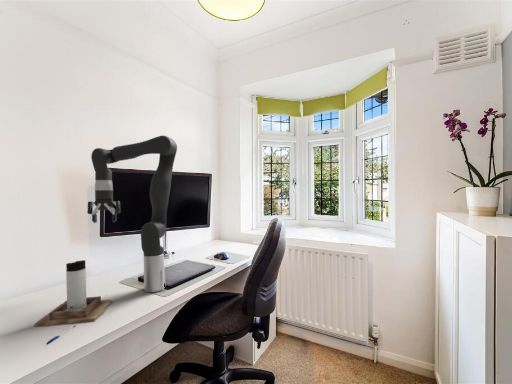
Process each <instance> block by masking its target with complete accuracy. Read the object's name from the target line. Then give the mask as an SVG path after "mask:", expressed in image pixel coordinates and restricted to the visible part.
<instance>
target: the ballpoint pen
mask: <svg viewBox="0 0 512 384" xmlns="http://www.w3.org/2000/svg"><path fill="white" fill-rule="evenodd" d="M75 327H76V325H72V326H71V327H70V328H68V329H67V330H65V331H63V332H62V333H60V334H58V335H57V336H54V337H53V338H51V339H49V340H48V341H47V342H46V345H49V344H51V343H53V342H54V341H56V340H57V339H59V338H60V337H61V336H63V335H65V334H66V333H68V332H69V331H71V330H73V329H74V328H75Z"/></svg>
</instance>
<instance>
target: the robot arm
mask: <svg viewBox="0 0 512 384" xmlns="http://www.w3.org/2000/svg"><path fill="white" fill-rule="evenodd" d="M177 151H178V145H177V143H176V141H175V140H174V139H173V138H171V137H169V136H167V135H159V136H156V137H152V138H150V139H148V140H144V141H143V140H142V141H141V142H140V141H139V142H136V143H131V144H123V145H117V146H114V147H113V148H112V149H105V148H101V147H98V148H94V149H93V150H92V153H91V154H90V155H91V156H90V157H91V159H90V160H91V162H92V166H93V169H94V171H95V175H94V176H95V178H94V180H95V182H94V199H95V200H94V201H92V200H91V201H88V202H87V210H86V211H87V212H86V213H87V214H88V215H91V218H92V219H91V221H92V222H93V224H96V223H98V215H97V214H98V212H100V211H109V212H110V213H111V214H112V215H111V222H112V223H115V222H116V221H117V220H118V217H117V215H118V214H120V213H122V212H121V211H122V209H121V201H120V200H116V201H114V188H113V187H114V186H113V172H112V169H111V168H109V167H108V165H110V164H115V163H118V162H121V161H127V160H132V159H137V158H138V157H142V156H144V155H152V154H153V155H154V154H155V155H157V154H158V155H159V158H158V159H159V161H158V165H157V168H156V170H155V172H154V174H153V175H152V178H151V181H150V187H149V201H150V204H151V208H152V210H151V211H152V212H151V213H152V214H151V219H150V221H149V222H147V223H144V225H142V227H141V230H140V244H141V250H142V252H143V287H144V288H143V291H144V292H145V293H156V292H157V293H158V292H160V291H164V289H165V287H164V283H165V284H166V267H165V255H164V254H165V251H164V249H165V248H164V247H163V246H161V239H162V238H164V235H165V234H166V231H167V212H168V206H169V200H170V199H169V198H170V193H171V186H172V179H173V178H172V177H173V167H174V162H175V160H176V159H175V158H176V154H177ZM94 206H95V208H94ZM113 206H115V208H114V207H113Z"/></svg>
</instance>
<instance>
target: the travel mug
mask: <svg viewBox="0 0 512 384" xmlns="http://www.w3.org/2000/svg"><path fill="white" fill-rule="evenodd" d="M65 265H66V267H65V268H66V269H65V270H66V271H65V272H66V275H65V276H66V301H67V311H68V310H80V309H85V308H86V307H87V305H86V304H87V303H86V297H87V270H86V260H85V259H84V260H77V261H73V262H68V263H66V264H65Z"/></svg>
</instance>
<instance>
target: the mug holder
mask: <svg viewBox="0 0 512 384" xmlns="http://www.w3.org/2000/svg"><path fill="white" fill-rule="evenodd" d="M86 303H87V304H86V305H87V307H86V308H85V309H80V310H68V311H67V300H65V301H64V302H63V303H60V304H59V305H58V306H56V307H55V308H54V309H52V310H50V311H49V312H48V313H47V314H45V315H44V316H43V317H41V318H40V319H39V320H38V321H36V322H35V323H34V327H45V326H46V327H47V326H54V325H66V324H68V325H69V324H76V323H77V324H78V323H86V322H87V323H88V322H96V321H97V320H98V318H99V317H100V316H101V315H103V313H104V311H106V309H108V307H109V306H110V305H111V304H112V303H113V299H102V296H100V295H99V296H89V297H87V296H86Z"/></svg>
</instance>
